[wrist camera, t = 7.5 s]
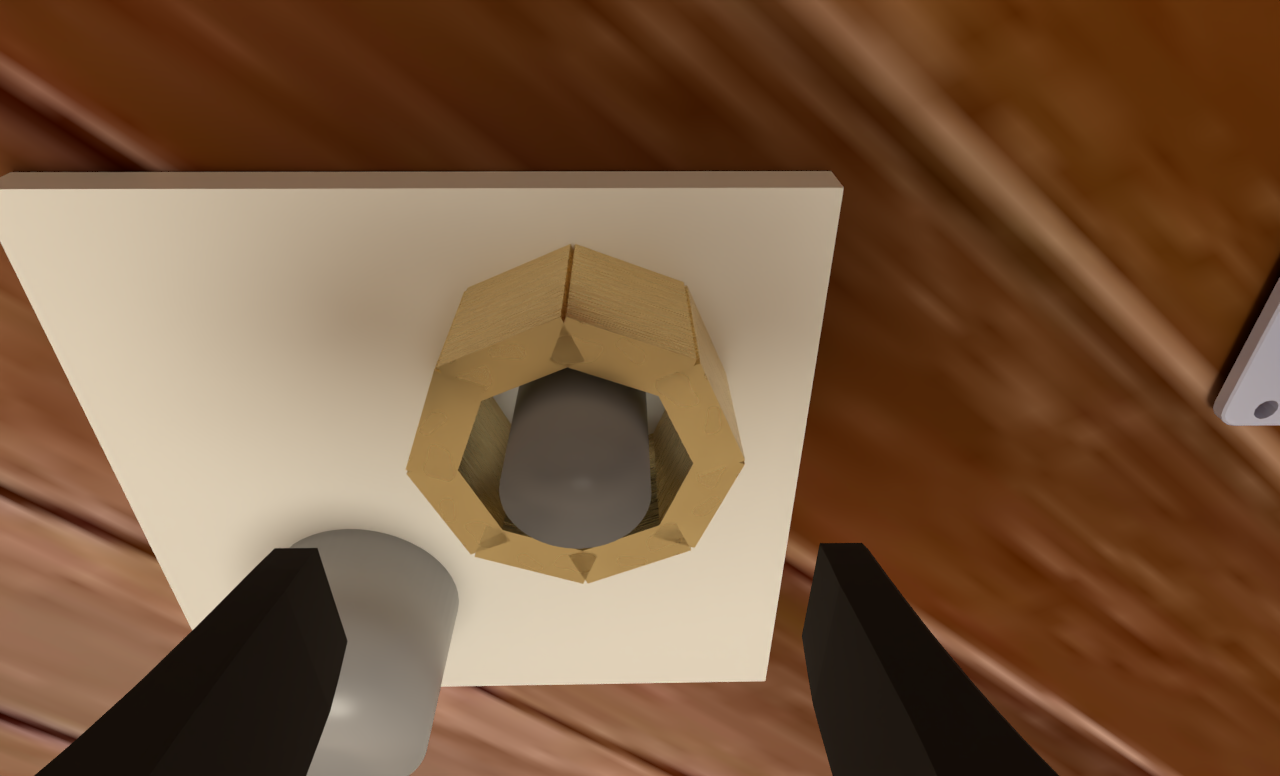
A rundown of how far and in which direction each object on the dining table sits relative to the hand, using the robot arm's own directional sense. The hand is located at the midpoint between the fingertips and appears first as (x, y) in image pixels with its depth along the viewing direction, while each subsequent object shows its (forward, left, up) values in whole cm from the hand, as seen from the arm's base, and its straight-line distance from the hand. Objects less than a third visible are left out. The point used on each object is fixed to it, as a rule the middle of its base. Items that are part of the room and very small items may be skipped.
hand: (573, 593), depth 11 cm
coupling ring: (0, 0, -6) cm, 6 cm away
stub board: (+3, +4, -7) cm, 9 cm away
